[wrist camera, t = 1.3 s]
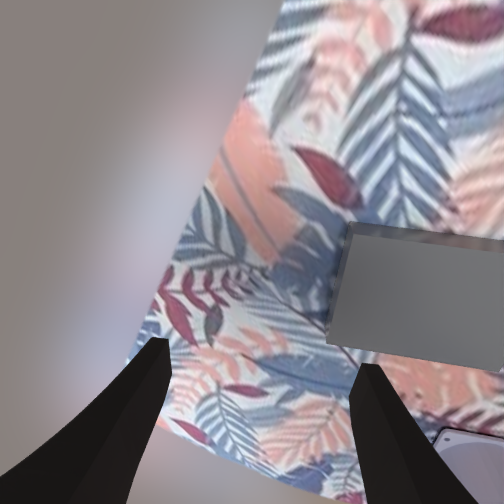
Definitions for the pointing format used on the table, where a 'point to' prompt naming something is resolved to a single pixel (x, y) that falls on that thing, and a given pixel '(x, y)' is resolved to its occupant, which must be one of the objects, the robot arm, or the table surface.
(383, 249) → the slate tile
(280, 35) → the table surface
